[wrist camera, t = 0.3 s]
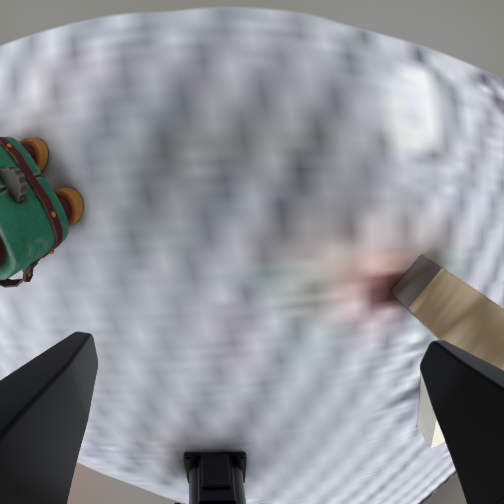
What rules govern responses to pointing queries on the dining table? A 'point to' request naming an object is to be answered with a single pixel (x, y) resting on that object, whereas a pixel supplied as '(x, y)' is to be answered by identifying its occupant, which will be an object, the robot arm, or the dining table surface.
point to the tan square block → (453, 310)
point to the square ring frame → (428, 419)
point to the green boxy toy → (30, 209)
